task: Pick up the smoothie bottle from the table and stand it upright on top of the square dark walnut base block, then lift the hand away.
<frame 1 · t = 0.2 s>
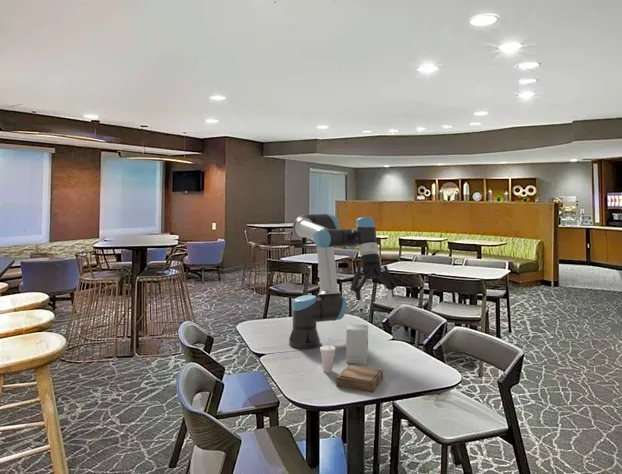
hand: (376, 307, 172), 28 cm above the table, tool tilted 20°, fingers open, 13 cm apart
walnut base: (360, 382, 167), on the table
supplement box: (357, 360, 191), on the table
smoothie: (327, 371, 179), on the table
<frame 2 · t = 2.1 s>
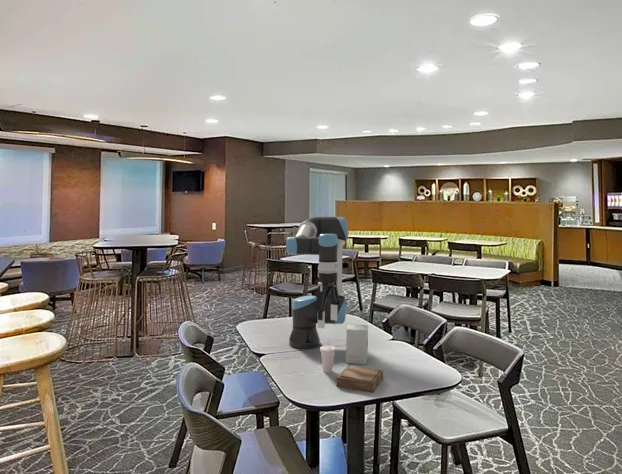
hand: (327, 324, 177), 20 cm above the table, tool pointing down, fingers open, 13 cm apart
nothing on the table moved.
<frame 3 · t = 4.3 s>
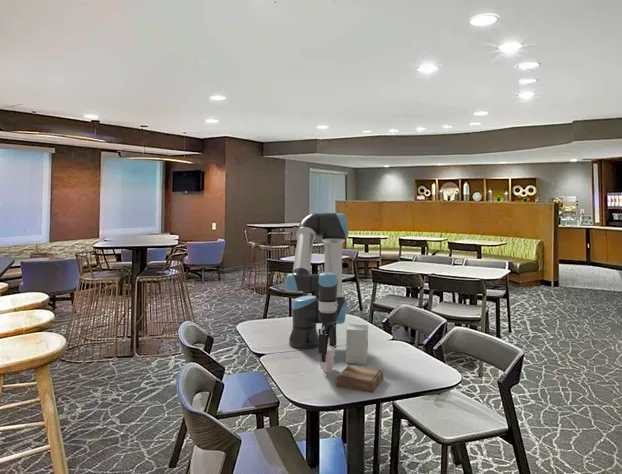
hand: (327, 366, 179), 2 cm above the table, tool pointing down, fingers closed on smoothie, 6 cm apart
smoothie: (327, 371, 179), on the table, touching gripper
everything else where it was.
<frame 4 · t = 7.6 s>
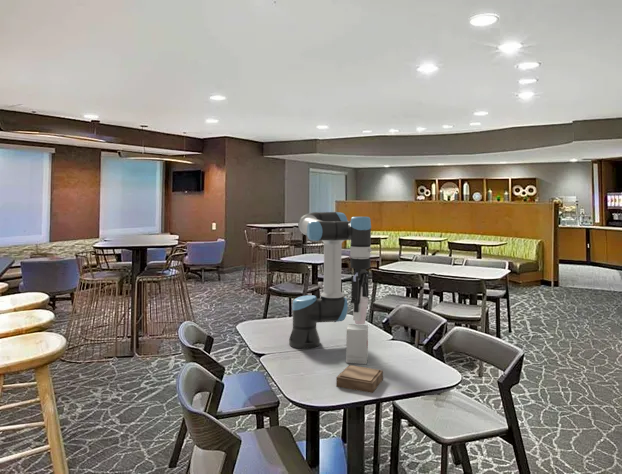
hand: (360, 318, 165), 25 cm above the table, tool pointing down, fingers closed on smoothie, 6 cm apart
smoothie: (359, 323, 165), point 23 cm above the table, touching gripper
everything else where it was.
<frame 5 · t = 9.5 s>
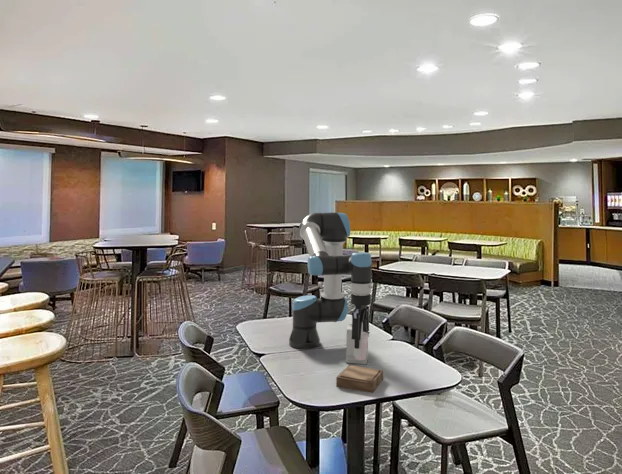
hand: (360, 353, 166), 11 cm above the table, tool pointing down, fingers closed on smoothie, 6 cm apart
smoothie: (360, 358, 166), point 9 cm above the table, touching gripper
everything else where it was.
when the fingers open (7 cm above the table, at t = 11.1 s): smoothie drops 1 cm, resting on walnut base.
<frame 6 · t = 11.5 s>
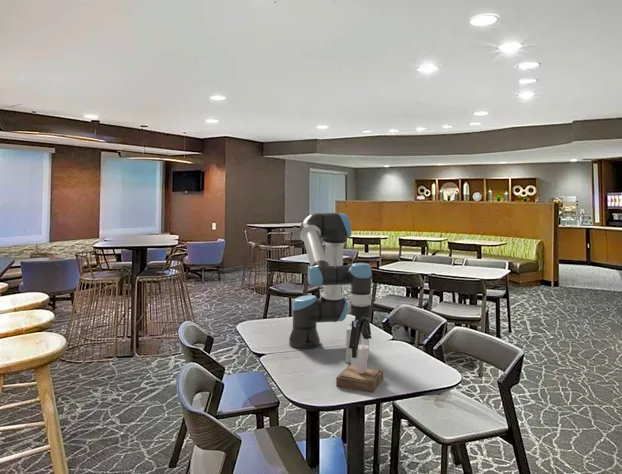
hand: (360, 360, 166), 9 cm above the table, tool pointing down, fingers open, 12 cm apart
smoothie: (361, 372, 167), point 4 cm above the table, touching walnut base
everything else where it was.
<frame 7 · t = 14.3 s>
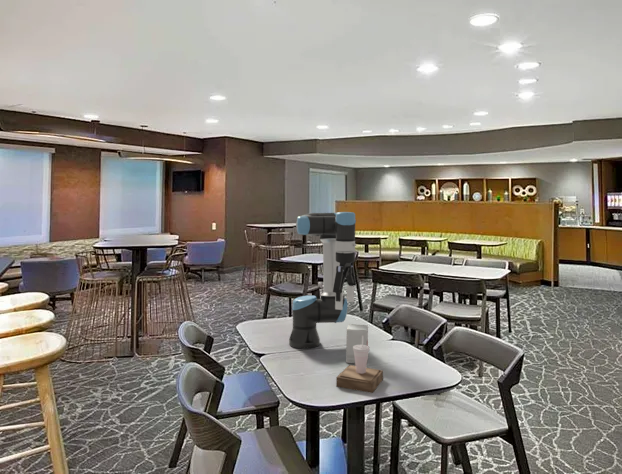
hand: (344, 305, 171), 29 cm above the table, tool pointing down, fingers open, 13 cm apart
nothing on the table moved.
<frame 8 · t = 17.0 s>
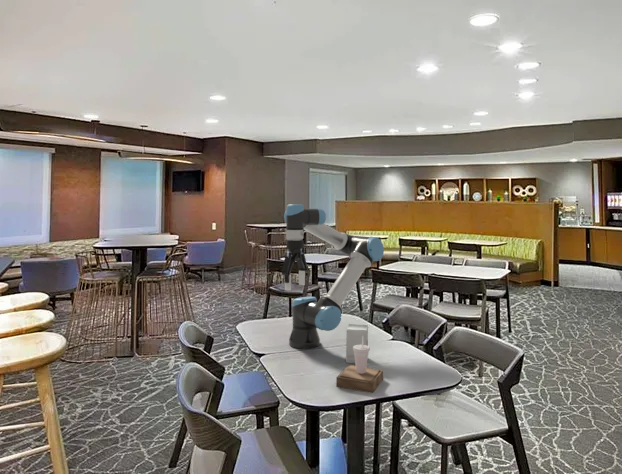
hand: (295, 287, 192), 32 cm above the table, tool pointing down, fingers open, 13 cm apart
nothing on the table moved.
at the end: smoothie inside the target area on the walnut base (1.0 cm from its centre), point 3.8 cm above the walnut base's base; smoothie tilted 0°; the gripper is holding nothing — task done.
